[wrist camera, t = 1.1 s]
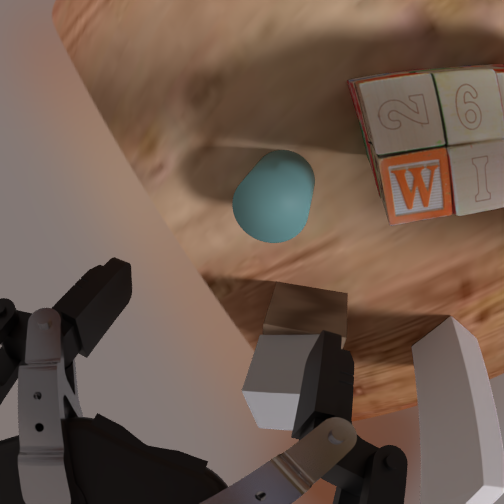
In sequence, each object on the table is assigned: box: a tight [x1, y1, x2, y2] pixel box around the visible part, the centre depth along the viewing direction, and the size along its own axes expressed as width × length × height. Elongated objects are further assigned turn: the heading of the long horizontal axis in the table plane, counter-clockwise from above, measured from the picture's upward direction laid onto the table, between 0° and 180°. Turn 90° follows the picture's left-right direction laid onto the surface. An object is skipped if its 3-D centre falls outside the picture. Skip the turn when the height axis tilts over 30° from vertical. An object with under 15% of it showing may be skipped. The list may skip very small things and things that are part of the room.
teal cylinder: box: [233, 150, 315, 243], centre depth 23 cm, size 5×5×6 cm
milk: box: [412, 316, 504, 504], centre depth 21 cm, size 6×6×22 cm
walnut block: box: [263, 282, 348, 349], centre depth 30 cm, size 7×7×6 cm
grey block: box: [242, 334, 320, 430], centre depth 25 cm, size 6×6×6 cm
